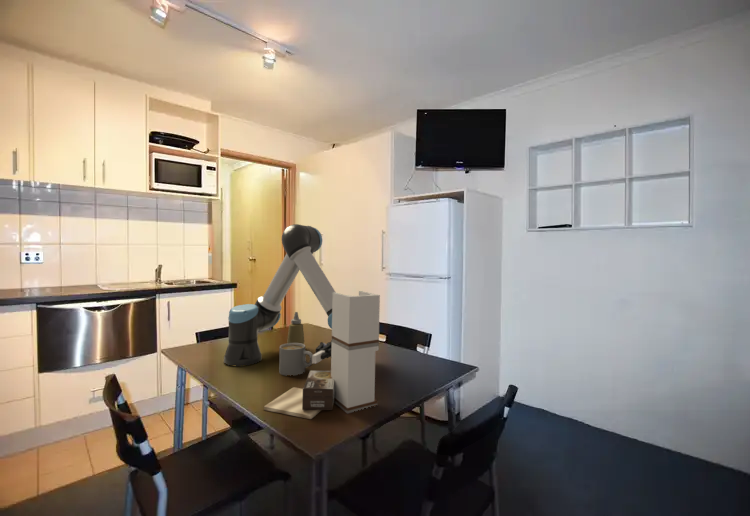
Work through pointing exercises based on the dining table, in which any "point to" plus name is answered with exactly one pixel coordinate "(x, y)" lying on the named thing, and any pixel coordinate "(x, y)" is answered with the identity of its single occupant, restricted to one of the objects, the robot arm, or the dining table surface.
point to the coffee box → (318, 391)
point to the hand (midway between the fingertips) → (314, 359)
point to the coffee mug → (293, 359)
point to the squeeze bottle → (296, 331)
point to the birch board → (291, 404)
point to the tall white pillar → (354, 349)
